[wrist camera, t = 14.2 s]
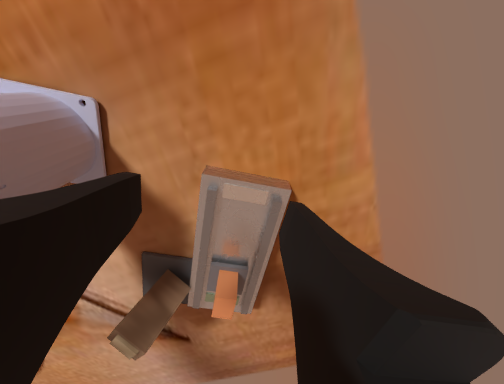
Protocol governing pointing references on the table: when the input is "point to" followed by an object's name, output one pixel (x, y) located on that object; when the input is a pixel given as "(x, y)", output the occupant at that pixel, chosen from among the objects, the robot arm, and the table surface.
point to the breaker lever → (226, 287)
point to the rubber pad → (164, 269)
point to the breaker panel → (235, 230)
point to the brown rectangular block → (149, 316)
